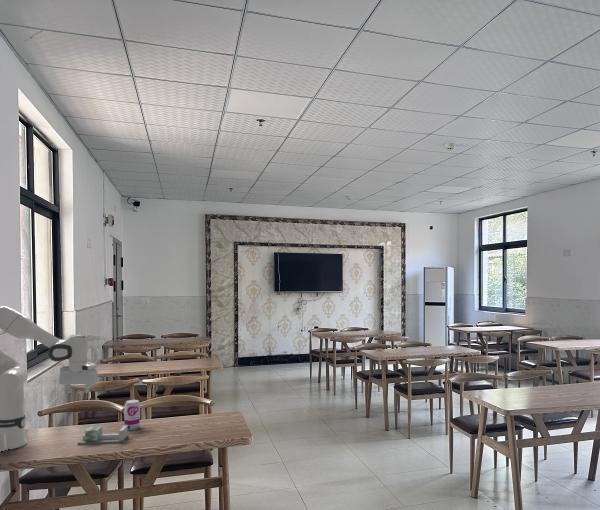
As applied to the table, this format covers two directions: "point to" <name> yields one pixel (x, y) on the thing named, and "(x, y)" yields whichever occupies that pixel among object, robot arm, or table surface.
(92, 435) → the keeper
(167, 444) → the table surface
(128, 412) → the supplement can
